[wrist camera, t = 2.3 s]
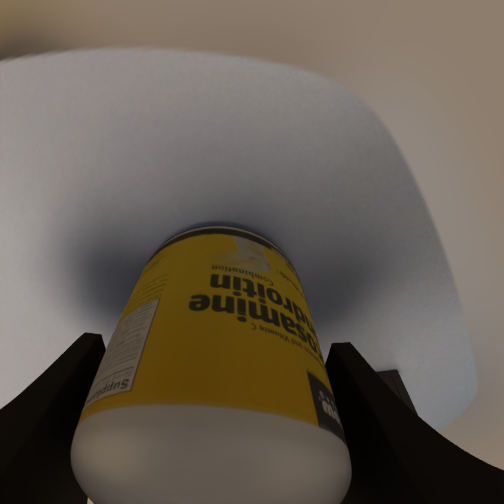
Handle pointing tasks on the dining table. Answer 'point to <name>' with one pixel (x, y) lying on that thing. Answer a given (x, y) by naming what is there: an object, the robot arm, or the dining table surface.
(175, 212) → the dining table surface
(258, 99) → the dining table surface
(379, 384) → the robot arm
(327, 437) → the pill bottle
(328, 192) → the dining table surface
